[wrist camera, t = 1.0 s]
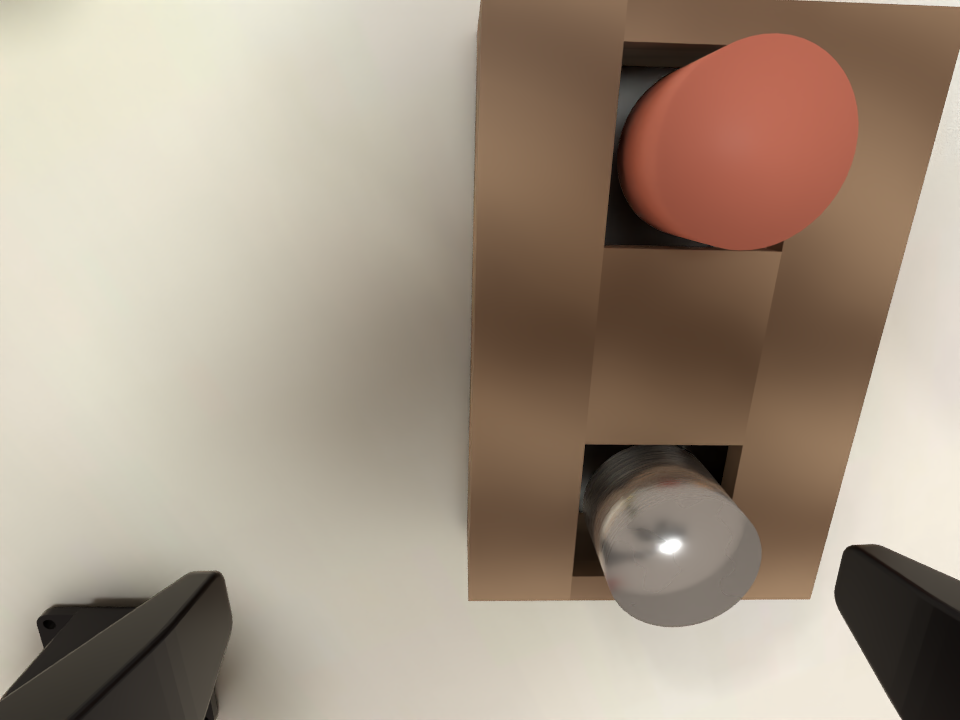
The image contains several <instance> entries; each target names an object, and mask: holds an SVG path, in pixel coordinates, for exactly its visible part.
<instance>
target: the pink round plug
mask: <svg viewBox="0 0 960 720" xmlns="http://www.w3.org/2000/svg"><path fill="white" fill-rule="evenodd" d="M858 124H859V122H858V109H857V104H856V99H855V95H854V92H853V89H852V87H851V84H850V82H849V80H848V78H847V76H846V74H845V72H844V71H843V69H842V68H841V67H840V65H839V64H838V63H837V61H836V60H835V59H834V58H833V57H832V56H831V55H830V54H829V53H828V52H827V51H825V50H824V49H822V48H821V47H819V46H818V45H816V44H815V43H812V42H810V41H808V40H806V39H804V38H800V37H797V36H793V35H788V34H779V33H772V34H760V35H755V36H749V37H746V38H743V39H740V40H738V41H735V42H733V43H731V44H729V45H727V46H725V47H723V48H721V49H719V50H717V51H715V52H713V53H711V54H709V55H707V56H705V57H702V58H700V59H698V60H696V61H694V62H692V63H690V64H688V65H686V66H684V67H682V68H680V69H678V70H676V71H674V72H672V73H670V74H668V75H666V76H665V77H663V78H662V79H660V80H659V81H657V82H656V83H655V84H654V85H652V86H651V87H650V88H649V89H648V90H647V91H646V92H645V93H644V94H643V95H642V96H641V97H640V99H639V100H638V101H637V103H636V104H635V105H634V107H633V108H632V110H631V112H630V114H629V115H628V117H627V119H626V122H625V124H624V127H623V129H622V132H621V136H620V139H619V145H618V151H617V170H618V177H619V182H620V186H621V189H622V191H623V194H624V196H625V198H626V200H627V202H628V204H629V205H630V207H631V208H632V209H633V211H634V212H635V213H636V214H637V215H638V216H639V217H640V218H641V219H642V220H643V221H644V222H646V223H647V224H648V225H650V226H652V227H653V228H655V229H657V230H659V231H662V232H664V233H667V234H671V235H675V236H678V237H682V238H686V239H689V240H693V241H697V242H700V243H704V244H708V245H711V246H715V247H719V248H723V249H728V250H739V251H741V250H754V249H760V248H765V247H768V246H772V245H775V244H778V243H780V242H782V241H784V240H787V239H789V238H790V237H792V236H794V235H795V234H797V233H799V232H800V231H802V230H803V229H804V228H806V227H807V226H808V225H810V224H811V223H812V222H813V221H814V220H815V219H816V218H818V217H819V216H820V215H821V214H822V213H823V211H824V210H825V209H826V208H827V207H828V206H829V204H830V203H831V202H832V201H833V199H834V198H835V196H836V195H837V193H838V192H839V190H840V188H841V187H842V185H843V183H844V181H845V179H846V177H847V175H848V172H849V170H850V167H851V165H852V161H853V158H854V155H855V151H856V145H857V139H858Z"/></svg>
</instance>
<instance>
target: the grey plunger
mask: <svg viewBox="0 0 960 720" xmlns="http://www.w3.org/2000/svg"><path fill="white" fill-rule="evenodd" d="M583 515H584V519H585V522H586V525H587V528H588V531H589V533H590V536H591V539H592V542H593V544H594V547H595V550H596V553H597V556H598V558H599V561H600V564H601V567H602V569H603V572H604V575H605V578H606V581H607V583H608V586H609V589H610V591H611V593H612V595H613V597H614V599H615V600H616V602H617V603H618V604H619V606H620V607H621V608H622V609H623V610H624V611H626V612H627V613H628V614H630V615H631V616H633V617H634V618H636V619H638V620H640V621H643V622H645V623H648V624H652V625H656V626H663V627H683V626H689V625H694V624H698V623H702V622H705V621H707V620H710V619H712V618H714V617H716V616H718V615H720V614H722V613H724V612H725V611H727V610H728V609H730V608H731V607H732V606H734V605H735V604H736V603H737V602H738V601H739V600H740V599H741V598H742V597H743V596H744V595H745V594H746V593H747V591H748V590H749V589H750V587H751V586H752V584H753V583H754V581H755V579H756V576H757V574H758V571H759V568H760V564H761V558H762V548H761V543H760V539H759V536H758V533H757V531H756V529H755V527H754V526H753V524H752V523H751V522H750V520H749V519H748V518H747V517H746V516H745V514H744V513H743V512H742V511H741V510H740V508H739V507H738V506H737V505H736V504H735V502H734V501H733V500H732V499H731V498H730V497H729V495H728V494H727V493H726V492H725V491H724V489H723V488H722V487H721V486H720V485H719V483H718V482H717V481H716V480H715V479H714V478H713V476H712V475H711V474H710V473H709V472H708V470H707V469H706V468H705V467H704V466H703V464H702V463H701V462H700V461H699V460H698V459H697V458H696V457H695V456H694V455H692V454H691V453H689V452H688V451H686V450H684V449H682V448H679V447H676V446H673V445H636V446H633V447H629V448H627V449H625V450H622V451H620V452H618V453H617V454H615V455H613V456H612V457H610V458H609V459H607V460H606V461H605V462H604V463H603V464H602V465H601V466H600V467H599V468H598V469H597V470H596V471H595V473H594V474H593V476H592V477H591V479H590V480H589V482H588V484H587V487H586V490H585V493H584V497H583Z"/></svg>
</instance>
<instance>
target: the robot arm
mask: <svg viewBox="0 0 960 720" xmlns="http://www.w3.org/2000/svg"><path fill="white" fill-rule="evenodd" d="M834 594H835V601H836V604H837V607H838V609H839V611H840V613H841V615H842V616H843V618H844V620H845V622H846V623H847V625H848V627H849V629H850V631H851V632H852V634H853V636H854V638H855V639H856V641H857V643H858V645H859V646H860V648H861V650H862V652H863V653H864V655H865V657H866V659H867V661H868V662H869V664H870V666H871V668H872V669H873V671H874V673H875V675H876V676H877V678H878V680H879V682H880V683H881V685H882V687H883V689H884V690H885V692H886V694H887V696H888V698H889V699H890V701H891V703H892V704H893V706H894V708H895V709H896V711H897V712H898V714H899V716H900V717H901V719H902V720H960V581H959V580H957V579H955V578H953V577H950V576H948V575H946V574H944V573H941V572H939V571H937V570H935V569H932V568H930V567H928V566H926V565H924V564H921V563H919V562H917V561H915V560H912V559H910V558H908V557H906V556H903V555H901V554H899V553H897V552H894V551H892V550H890V549H888V548H885V547H883V546H880V545H876V544H867V545H851V546H849V547H847V548H846V549H845V550H844V552H843V555H842V559H841V564H840V568H839V572H838V576H837V581H836V585H835V590H834ZM37 626H38V630H39V633H40V637H41V640H42V643H43V647H44V650H43V651H42V652H41V653H40V654H39V655H38V656H37V658H36V659H35V660H34V661H33V662H32V663H31V664H30V665H29V667H28V668H27V669H26V670H25V671H24V672H23V673H22V675H21V676H20V677H19V678H18V679H17V680H16V681H15V682H14V684H13V685H12V686H11V687H10V688H9V689H8V690H7V692H6V693H5V694H4V695H3V696H2V698H1V700H0V720H216V718H217V716H218V709H217V703H216V697H215V692H214V686H215V683H216V680H217V676H218V673H219V670H220V667H221V664H222V661H223V657H224V654H225V651H226V648H227V645H228V641H229V638H230V635H231V630H232V613H231V608H230V603H229V598H228V593H227V589H226V584H225V580H224V577H223V575H222V573H220V572H219V571H194V572H190V573H188V574H186V575H184V576H183V577H181V578H180V579H179V580H177V581H176V582H174V583H173V584H171V585H170V586H168V587H167V588H165V589H164V590H162V591H161V592H159V593H158V594H156V595H155V596H153V597H152V598H151V599H149V600H148V601H146V602H145V603H143V604H142V605H140V606H139V607H82V608H49V609H47V610H46V611H45V612H44V613H43V614H42V615H41V616H40V617H39V618H38V620H37Z"/></svg>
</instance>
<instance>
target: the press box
mask: <svg viewBox="0 0 960 720" xmlns="http://www.w3.org/2000/svg"><path fill="white" fill-rule="evenodd" d="M772 33H779V34H788V35H793V36H797V37H800V38H804V39H806V40H808V41H810V42H812V43H815V44H816V45H818V46H819V47H821V48H822V49H824V50H825V51H827V52H828V53H829V54H830V55H831V56H832V57H833V58H834V59H835V60H836V61H837V63H838V64H839V65H840V67H841V68H842V69H843V71H844V72H845V74H846V76H847V78H848V80H849V82H850V84H851V87H852V89H853V92H854V95H855V99H856V104H857V109H858V122H859V124H858V139H857V145H856V151H855V155H854V158H853V161H852V165H851V167H850V170H849V172H848V175H847V177H846V179H845V181H844V183H843V185H842V187H841V188H840V190H839V192H838V193H837V195H836V196H835V198H834V199H833V201H832V202H831V203H830V204H829V206H828V207H827V208H826V209H825V210H824V211H823V213H822V214H821V215H820V216H819V217H818V218H816V219H815V220H814V221H813V222H812V223H811V224H810V225H808V226H807V227H806V228H804V229H803V230H802V231H800V232H799V233H797V234H795V235H794V236H792V237H790V238H789V239H787V240H784V241H782V242H780V243H778V244H775V245H772V246H768V247H767V248H760V249H754V250H741V251H739V250H728V249H723V248H719V247H687V246H640V245H604V241H605V231H606V220H607V210H608V200H609V189H610V179H611V169H612V158H613V148H614V138H615V127H616V117H617V106H618V96H619V86H620V75H621V65H625V66H654V67H684V66H686V65H688V64H690V63H692V62H694V61H696V60H698V59H700V58H702V57H705V56H707V55H709V54H711V53H713V52H715V51H717V50H719V49H721V48H723V47H725V46H727V45H729V44H731V43H733V42H735V41H738V40H740V39H743V38H746V37H749V36H755V35H760V34H772ZM959 49H960V7H948V6H923V5H898V4H873V3H848V2H823V1H798V0H481V3H480V12H479V21H478V29H477V72H476V121H475V170H474V219H473V268H472V317H471V367H470V416H469V465H468V514H467V546H468V601H537V600H615V599H614V597H613V595H612V593H611V591H610V589H609V586H608V583H607V581H606V578H605V575H604V572H603V569H602V567H601V564H600V561H599V558H598V556H597V553H596V550H595V547H594V544H593V542H592V539H591V536H590V533H589V531H588V528H587V525H586V522H585V519H584V515H583V513H578V511H579V500H580V490H581V480H582V469H583V459H584V449H585V444H618V445H729V447H728V452H727V458H726V463H725V468H724V473H723V479H722V484H721V487H722V488H723V489H724V491H725V492H726V493H727V494H728V495H729V497H730V498H731V499H732V500H733V501H734V502H735V504H736V505H737V506H738V507H739V508H740V510H741V511H742V512H743V513H744V514H745V516H746V517H747V518H748V519H749V520H750V522H751V523H752V524H753V526H754V527H755V529H756V531H757V533H758V536H759V539H760V543H761V548H762V558H761V564H760V568H759V571H758V574H757V576H756V579H755V581H754V583H753V584H752V586H751V587H750V589H749V590H748V591H747V593H746V594H745V595H744V596H743V597H742V598H741V599H740V600H755V599H810V598H811V594H812V590H813V587H814V583H815V579H816V575H817V572H818V568H819V564H820V561H821V557H822V553H823V550H824V546H825V542H826V539H827V535H828V531H829V528H830V524H831V520H832V517H833V513H834V509H835V506H836V502H837V498H838V495H839V491H840V487H841V483H842V480H843V476H844V472H845V469H846V465H847V461H848V458H849V454H850V450H851V447H852V443H853V439H854V436H855V432H856V428H857V425H858V421H859V417H860V414H861V410H862V406H863V403H864V399H865V395H866V391H867V388H868V384H869V380H870V377H871V373H872V369H873V366H874V362H875V358H876V355H877V351H878V347H879V344H880V340H881V336H882V333H883V329H884V325H885V322H886V318H887V314H888V311H889V307H890V303H891V299H892V296H893V292H894V288H895V285H896V281H897V277H898V274H899V270H900V266H901V263H902V259H903V255H904V252H905V248H906V244H907V241H908V237H909V233H910V230H911V226H912V222H913V219H914V215H915V211H916V207H917V204H918V200H919V196H920V193H921V189H922V185H923V182H924V178H925V174H926V171H927V167H928V163H929V160H930V156H931V152H932V149H933V145H934V141H935V138H936V134H937V130H938V127H939V123H940V119H941V115H942V112H943V108H944V104H945V101H946V97H947V93H948V90H949V86H950V82H951V79H952V75H953V71H954V68H955V64H956V60H957V57H958V53H959Z"/></svg>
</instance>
